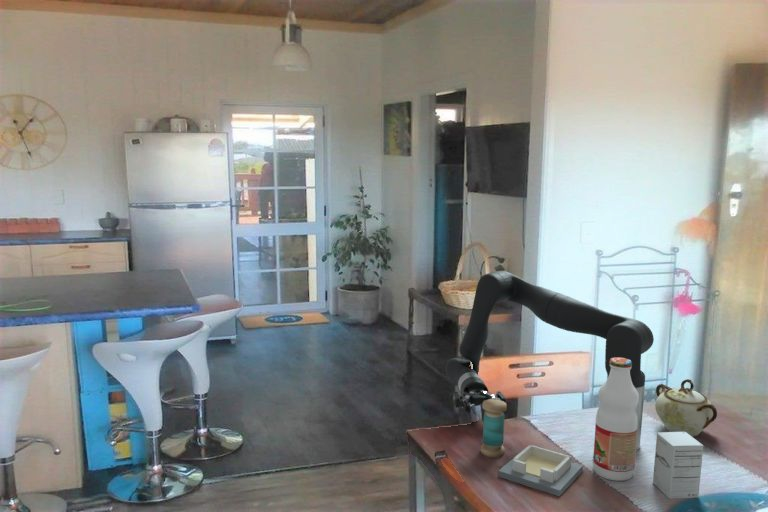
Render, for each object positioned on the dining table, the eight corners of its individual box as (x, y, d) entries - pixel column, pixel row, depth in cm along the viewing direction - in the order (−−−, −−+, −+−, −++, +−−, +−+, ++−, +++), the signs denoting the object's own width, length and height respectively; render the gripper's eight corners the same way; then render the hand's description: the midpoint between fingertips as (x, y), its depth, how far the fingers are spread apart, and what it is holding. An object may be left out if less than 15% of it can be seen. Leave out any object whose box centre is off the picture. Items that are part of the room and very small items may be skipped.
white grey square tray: (524, 454, 165) (525, 439, 164) (582, 471, 156) (583, 455, 156) (498, 476, 153) (498, 460, 152) (559, 496, 144) (560, 479, 144)
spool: (487, 444, 170) (489, 397, 168) (508, 451, 166) (510, 402, 164) (476, 453, 165) (478, 404, 163) (498, 459, 162) (500, 410, 160)
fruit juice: (627, 486, 149) (636, 369, 145) (587, 474, 155) (594, 361, 151) (638, 470, 157) (646, 359, 153) (599, 459, 162) (606, 351, 158)
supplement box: (651, 482, 151) (655, 431, 149) (681, 482, 152) (686, 430, 150) (667, 499, 144) (672, 445, 142) (699, 498, 144) (704, 444, 142)
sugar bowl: (732, 440, 175) (737, 386, 173) (693, 449, 169) (698, 394, 167) (672, 413, 193) (676, 365, 191) (635, 421, 186) (639, 371, 184)
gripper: (449, 376, 190) (459, 396, 174) (496, 376, 191) (511, 395, 175) (448, 400, 191) (458, 423, 175) (495, 400, 192) (510, 422, 176)
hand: (484, 409), depth 175 cm, fingers open, 8 cm apart
